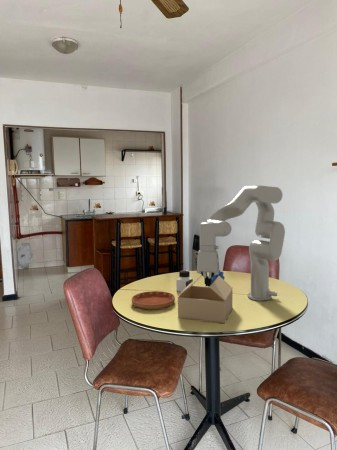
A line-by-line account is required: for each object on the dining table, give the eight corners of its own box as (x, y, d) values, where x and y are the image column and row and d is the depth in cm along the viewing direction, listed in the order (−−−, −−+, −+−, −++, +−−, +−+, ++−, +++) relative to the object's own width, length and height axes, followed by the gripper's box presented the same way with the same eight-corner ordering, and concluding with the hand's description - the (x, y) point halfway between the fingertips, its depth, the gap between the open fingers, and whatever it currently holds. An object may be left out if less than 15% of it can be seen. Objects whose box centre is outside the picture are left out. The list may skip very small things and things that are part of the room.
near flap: (232, 288, 173) (232, 288, 172) (224, 301, 155) (225, 300, 155) (218, 276, 174) (219, 275, 174) (209, 287, 157) (210, 286, 157)
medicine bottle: (186, 293, 200) (185, 272, 199) (176, 291, 204) (175, 271, 203) (193, 290, 206) (192, 270, 204) (183, 288, 210) (182, 268, 209)
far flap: (178, 296, 163) (177, 295, 163) (189, 285, 180) (189, 284, 180) (191, 285, 160) (191, 284, 160) (202, 275, 177) (202, 274, 177)
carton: (232, 308, 174) (232, 289, 173) (224, 323, 156) (224, 302, 155) (190, 303, 182) (190, 285, 181) (178, 317, 163) (177, 297, 162)
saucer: (127, 300, 191) (126, 293, 190) (166, 294, 199) (166, 288, 198) (138, 314, 169) (138, 307, 169) (181, 307, 177) (181, 300, 177)
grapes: (219, 286, 211) (219, 267, 210) (226, 289, 206) (226, 269, 204) (204, 289, 205) (204, 270, 204) (211, 292, 200) (211, 272, 198)
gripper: (224, 247, 166) (224, 284, 168) (194, 246, 171) (195, 282, 173) (221, 250, 159) (221, 289, 161) (190, 248, 164) (190, 286, 166)
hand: (207, 285), depth 167 cm, fingers closed
